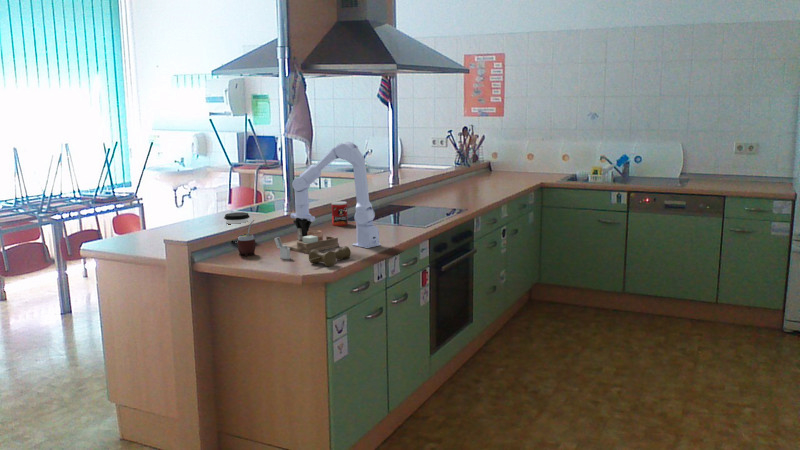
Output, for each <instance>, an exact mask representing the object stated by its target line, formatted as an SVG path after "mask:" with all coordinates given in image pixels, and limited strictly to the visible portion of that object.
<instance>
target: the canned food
mask: <svg viewBox="0 0 800 450" xmlns="http://www.w3.org/2000/svg"><path fill="white" fill-rule="evenodd" d="M348 219H349V218H348V202H347V201H338V200H337V201H332V202H331V223H332V226H334V227H345V226H348Z"/></svg>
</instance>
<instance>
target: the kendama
mask: <svg viewBox="0 0 800 450" xmlns="http://www.w3.org/2000/svg"><path fill="white" fill-rule="evenodd" d="M351 252H352V251H351V249H350V247H349V246H347V245H344V246H341V248H335V250H334V251H333V250H329V251H326V252H325V253H323V252H320V251H318V250H316V249H314V250H312V251H311V252H310V253H308V260H309V261H308V262H310V263H311V264H312V263H315V264H318V263H323V264H324V265H325V266H326V267H327V266H330V267H333V266H334V265H335V264H336V262H337V261H336V260H342V259H350V258H351V254H352V253H351ZM332 265H333V266H332Z"/></svg>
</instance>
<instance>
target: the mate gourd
mask: <svg viewBox="0 0 800 450" xmlns="http://www.w3.org/2000/svg"><path fill="white" fill-rule="evenodd" d="M254 221H255V219H253V220H252V221H250V223H248V224H249V225H248V228H247V234H244V235H240V236H239V237H238V241H237V242H236V244H237V250H238V254H239V256H244V257H245V258H247V257H248V256H255V255H256V253H255V250H256V238H255V236H254V235H253V234H250V230H251V227H252V224H253V223H254Z"/></svg>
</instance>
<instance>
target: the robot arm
mask: <svg viewBox="0 0 800 450" xmlns="http://www.w3.org/2000/svg"><path fill="white" fill-rule="evenodd" d="M337 159H340V160H344V161H347V163H349V164H350V165H352V170H353V179H354V186H355V198H356V199H355V200H356V205H355V213H354V216H353V218H354V222H355V223H356V224H355V225H356V227H355V228H356V243H352V246H356V247H360V248H364V249H365V248H366V249H370V248H374V247H380V246H382V244H381V243H380V230H379V228H378V226H375V225H374V221H373V220H374V219H375V216H376V213H375V210H374V209H373V205H372V202H370V197H369V195H370V194H369V186H368V185H369V184H368V175H367V165H366V159H365V157H364V155H363V153H362V152H361V151H360V149H359V147H358V145H356V144H355V143H353V142H351V141H347V142H344V143H339V144H337V145H336V146H334V147H333V148H332V149H331V150H329V152H327V154H325V155H324V156H323V157H322V159H321V160H319V161H318V163H317V164H311V165H308V166H307V167H306V169H305V170H304V171H303V172H302V173H299V176H298V177H295V178H294V179H293V181H292V189H294V204H295V205H294V207H295V208H294V210H295V212H292V213H290V219H293V223H294V224H295V227H296V229H297V228H301V230H302V236H303V237H304V236H307V235H308V234H307V231H308V230H309V231H310V227H311V224H312V222H315V221H316V216H313V215H312V214H311V213H310V207H309V206H310V204H309V203H310V202H309V188H310V187H311V184H313V183H314V182H315V181H316V180H317V179H319V178H320V177H321V176H322V171H323V170H324V169H325V168H327V167H328V166H329V165H330V164H331V163H332V162H333V161H335V160H337Z"/></svg>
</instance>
